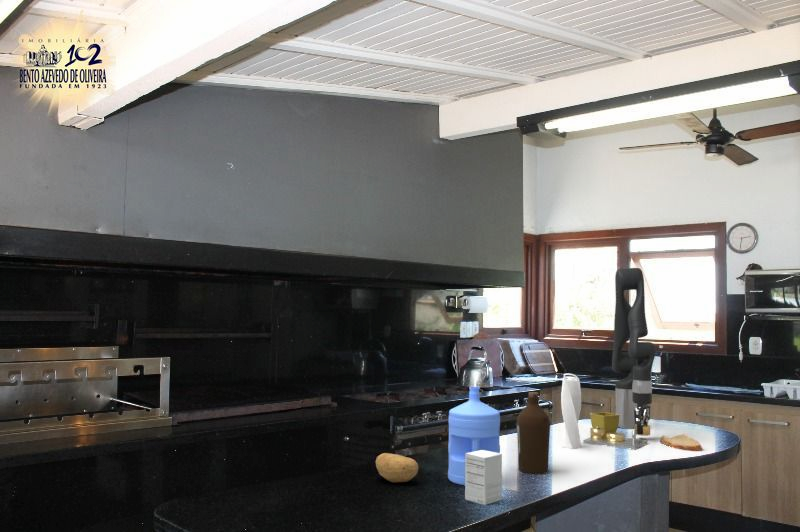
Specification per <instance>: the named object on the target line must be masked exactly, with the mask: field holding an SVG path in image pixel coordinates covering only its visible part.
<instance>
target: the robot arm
mask: <svg viewBox="0 0 800 532" xmlns="http://www.w3.org/2000/svg"><path fill="white" fill-rule="evenodd" d="M614 277H615V278H614V281H615V282H614V283H615V308H614V323H613V326H614V327H613V330H614V331H613V333H614V334H613V336H614V337H613V349H612V355H611V357H612V358H611V368H612V371H613V373H618V374H628V376H626V377H625V378H622V379H620V380H617V381H615V385H614V387H615V414H618V415H619V424H618V428H619V427H620V429H628V428H630V429H632V428H633V429H635V425H637V434H640V435H639V436H641V435H642V434H643V424H645V425H649V421H650V418H651V417H650V416H651V406H650V405H651V404H652V403H653V392H652V391H653V385H652V368H653V365H654V364H653V363H654V360H655V357H656V353H657V351H656V350H657V349H656V346H655V344H654V343H652V342H650V341H639V339H641V338H644V337H647V336H648V333H649V332H648V330H649V329H648V324H647V319H646V317H647V316H646V305H645V304H646V303H645V302H646V299H645V297H646V296H645V279H644V274H643V271H642V269H641V268H640V267H628V268H627V267H626V268H619V269H617V270H616V271H615V276H614ZM633 290H635V291H636V292H635V293H636V295H635V299H634V302H633V304H632V306H631V304H630V302H629V301H628V299H627V298H626V296H625V291H633ZM627 342H628V349H627V351H626V352H624V351H623V348H624V347H625V345H626V343H627ZM622 351H623V352H622ZM638 360H643V362H642V363H640V364H638V362H639V361H638Z"/></svg>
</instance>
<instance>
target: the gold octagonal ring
mask: <svg viewBox="0 0 800 532" xmlns="http://www.w3.org/2000/svg"><path fill="white" fill-rule="evenodd" d="M634 431H636V435H637V436H642V437H643V436H644V437H645V436H647V437H649V436H651V425H649V424H648V425H645V424H643V434H642V435H640V434H637V425H635V428H634Z"/></svg>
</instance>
